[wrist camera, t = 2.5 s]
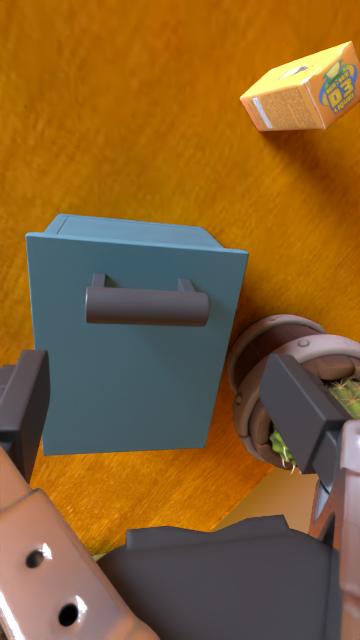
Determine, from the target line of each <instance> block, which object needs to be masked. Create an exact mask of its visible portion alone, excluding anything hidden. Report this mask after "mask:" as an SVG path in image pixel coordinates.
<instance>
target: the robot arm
mask: <svg viewBox="0 0 360 640" xmlns="http://www.w3.org/2000/svg"><path fill="white" fill-rule="evenodd" d="M50 394H51V386H50V370H49V355H48V351H47V350H23V351H22V353H21V355H20V357H19V359H18V362H17V364H16V365H4V366H3V367H1V368H0V640H360V420H354V418H353V417H352V416H351V415H350V414H349V413H348V411H347V410H346V409H345V408H344V407H343V406H342V405H341V403H340V402H339V401H338V400H337V399H336V398H335V396H334V395H333V394H331V392H330V391H329V390H328V388H327V387H326V386H324V384H323V383H322V382H321V380H320V379H319V378H318V377H317V376H316V375H315V374H314V373H312V372H311V371H309V370H308V369H306V368H305V367H302V366H301V365H300V363H299V362H298V361H297V360H296V359H295V357H294V356H293V355H291V354H271V355H270V356H269V357H268V360H267V363H266V366H265V370H264V373H263V377H262V380H261V384H260V388H259V395H260V400H261V402H262V404H263V406H264V408H265V409H266V411H267V413H268V415H269V417H270V418H271V420H272V422H273V424H274V425H275V427H276V429H277V431H278V432H279V434H280V436H281V438H282V440H283V441H284V443H285V445H286V447H287V448H288V450H289V452H290V454H291V455H292V457H293V459H294V461H295V462H296V464H297V466H298V468H299V470H300V471H301V473H302V474H315V473H317V475H318V477H319V479H318V481H317V484H316V489H315V494H314V501H313V507H312V514H311V519H310V526H309V532H308V534H305V533H303V532H300V531H298V530H294V529H290V528H289V526H288V524H287V522H286V520H285V517H284V515H274V516H263V517H253V518H247V519H244V520H242V521H239V522H237V523H235V524H232V525H230V526H228V527H225V528H223V529H220V530H218V531H216V532H211V533H209V532H202V531H196V530H190V529H184V528H178V527H172V526H161V527H151V528H141V529H130V530H126V541H125V545H122V546H120V547H117V548H115V549H114V550H112V551H110V552H108V553H106V554H105V555H104V556H102V557H101V558H100V559H98V560H97V561H96V562H95V560H94V559H93V558H92V556H91V555H90V553H89V552H88V551H87V549H86V548H85V547H84V545H83V544H82V542H81V541H80V540H79V538H78V537H77V536H76V534H75V533H74V531H73V530H72V529H71V527H70V526H69V525H68V523H67V522H66V521H65V519H64V518H63V516H62V515H61V514H60V512H59V511H58V510H57V508H56V507H55V505H54V504H53V503H52V501H51V500H50V499H49V497H48V496H47V495H46V493H45V492H44V491H43V490H42V489H40V488H37V489H35V490H32V489H31V488H30V486H29V483H30V479H31V475H32V471H33V467H34V463H35V459H36V456H37V452H38V448H39V444H40V440H41V436H42V432H43V428H44V424H45V420H46V416H47V412H48V408H49V403H50Z"/></svg>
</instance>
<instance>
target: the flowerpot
mask: <svg viewBox="0 0 360 640" xmlns="http://www.w3.org/2000/svg"><path fill="white" fill-rule="evenodd" d="M271 354H291V355H293V356H294V357H295V359H296V360H297V361H298V362H299V363H300V365H301V366H302V367H305V368H306V369H308V370H309V371H311V372H312V373H314V374H315V375H316V376H317V377H318V378H319V379H320V380H321V382H322V383H323V384H324V386H326V387H327V388H328V390H329V391H330V392H331V394H333V395H334V396H335V398H336V399H337V400H338V401H339V402H340V403H341V405H342V406H343V407H344V408H345V409H346V410H347V411H348V413H349V414H350V415H351V416H352V417H353V418H354V420H360V344H359V343H357V342H355V341H353V340H351V339H348V338H345V337H342V336H338V335H328V334H327V333H326V331H325V330H324V329H323V328H322V326H321V325H320V324H317V323H315V322H313V321H310V320H308V319H305V318H303V317H300V316H296V315H286V314H285V315H275V316H269V317H265V318H263V319H260V320H258V321H257V322H255V323H253V324H252V325H250V326H249V327H248V328H247V330H246V331H242V333H241V334H240V335H239V337H238V338H237V340H236V341H235V343H234V344H233V346H232V348H231V351H230V353H229V354H228V362H227V369H228V379H229V383H230V386H231V389H232V391H233V393H234V394H235V395H236V396H235V399H234V403H233V422H234V427H235V430H236V433H237V435H238V437H239V439H240V441H241V443H242V444H243V446H244V447H245V449H246V450H247V451H248V452H249V453H250V454H251V455H252V456H254V457H256V458H257V459H259V460H261V461H264V462H266V463H270V464H272V465H274V466H277V467H279V468H282V469H285V470H292V469H293V470H294V467H295V466H296V467H298V466H297V464H296V462H295V461H294V459H293V457H292V455H291V454H290V452H289V450H288V448H287V447H286V445H285V443H284V441H283V440H282V438H281V436H280V434H279V432H278V431H277V429H276V427H275V425H274V424H273V422H272V420H271V418H270V417H269V415H268V413H267V411H266V409H265V408H264V406H263V404H262V402H261V400H260V395H259V388H260V384H261V380H262V377H263V373H264V370H265V366H266V363H267V360H268V357H269V356H270V355H271ZM292 472H293V471H292ZM300 473H301V472H300ZM291 474H292V473H291Z"/></svg>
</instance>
